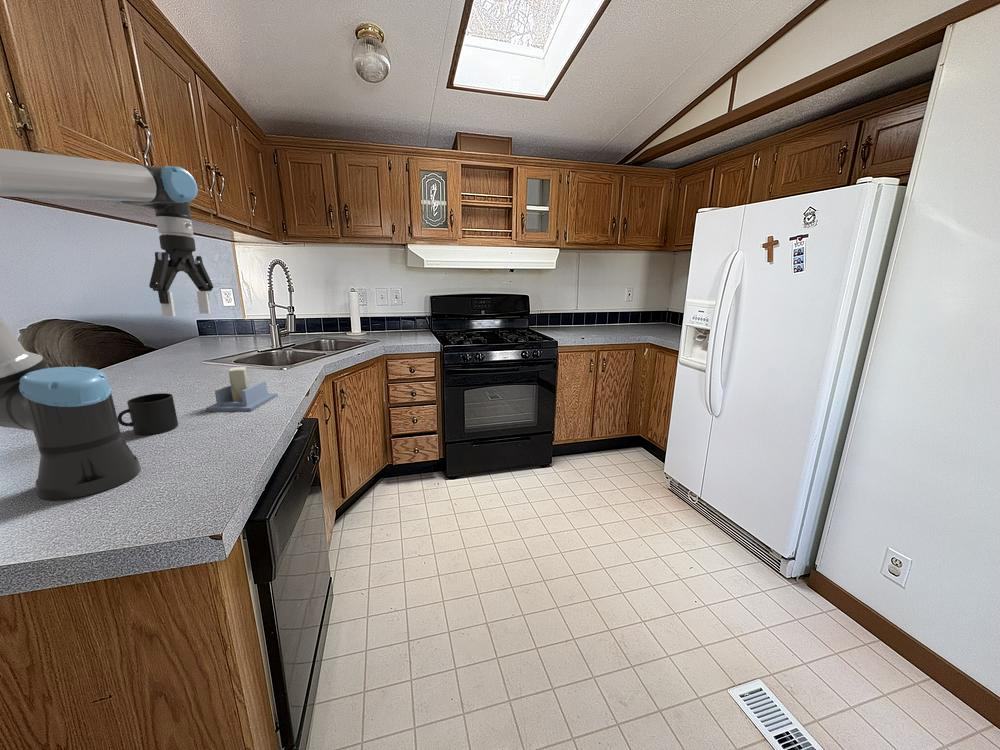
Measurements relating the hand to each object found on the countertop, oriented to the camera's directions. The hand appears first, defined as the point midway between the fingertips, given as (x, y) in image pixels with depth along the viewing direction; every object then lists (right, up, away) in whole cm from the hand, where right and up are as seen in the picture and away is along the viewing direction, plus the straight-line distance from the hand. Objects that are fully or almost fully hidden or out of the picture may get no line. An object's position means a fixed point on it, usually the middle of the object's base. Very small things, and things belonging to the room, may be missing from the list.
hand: (188, 315), depth 113 cm
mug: (-8, -32, -2) cm, 34 cm away
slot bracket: (+2, -26, +21) cm, 34 cm away
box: (+2, -26, +20) cm, 33 cm away
